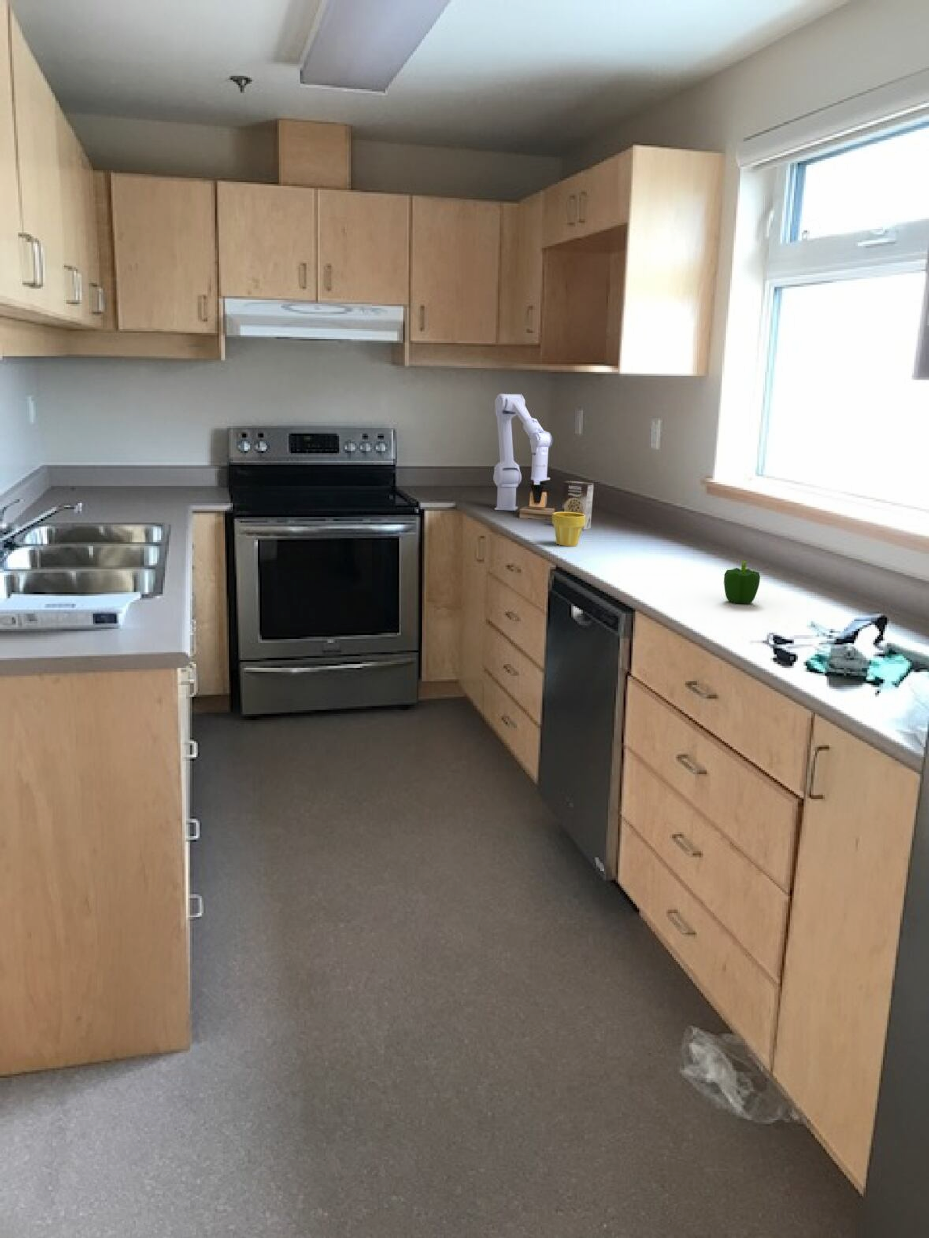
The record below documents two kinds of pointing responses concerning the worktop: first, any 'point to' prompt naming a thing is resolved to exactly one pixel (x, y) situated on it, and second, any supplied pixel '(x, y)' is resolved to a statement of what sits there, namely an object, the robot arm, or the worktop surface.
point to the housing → (542, 502)
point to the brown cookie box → (578, 499)
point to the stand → (537, 513)
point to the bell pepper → (741, 584)
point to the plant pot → (568, 527)
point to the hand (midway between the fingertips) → (537, 502)
